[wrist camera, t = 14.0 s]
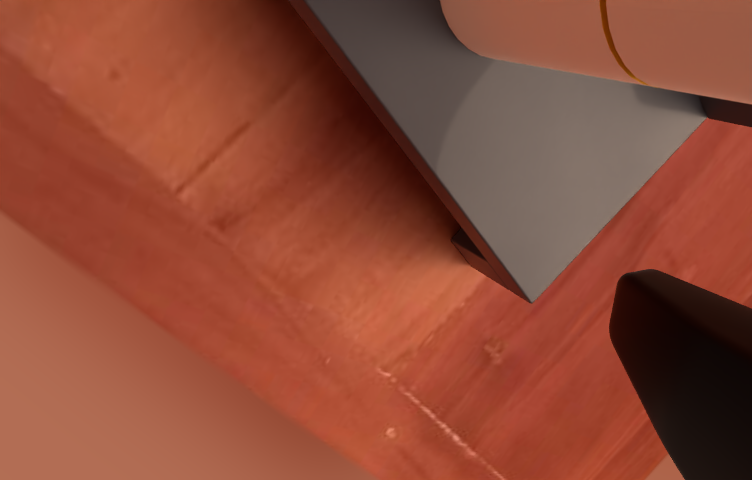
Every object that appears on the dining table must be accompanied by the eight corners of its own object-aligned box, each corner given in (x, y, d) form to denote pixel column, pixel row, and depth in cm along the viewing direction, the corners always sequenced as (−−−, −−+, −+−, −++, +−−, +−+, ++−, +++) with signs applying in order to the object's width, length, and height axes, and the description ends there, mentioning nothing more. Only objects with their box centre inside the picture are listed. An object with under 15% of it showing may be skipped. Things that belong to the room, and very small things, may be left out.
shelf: (471, 266, 25) (598, 346, 20) (209, -64, 18) (301, -79, 12) (649, 81, 26) (816, 109, 21) (476, -307, 19) (668, -421, 13)
